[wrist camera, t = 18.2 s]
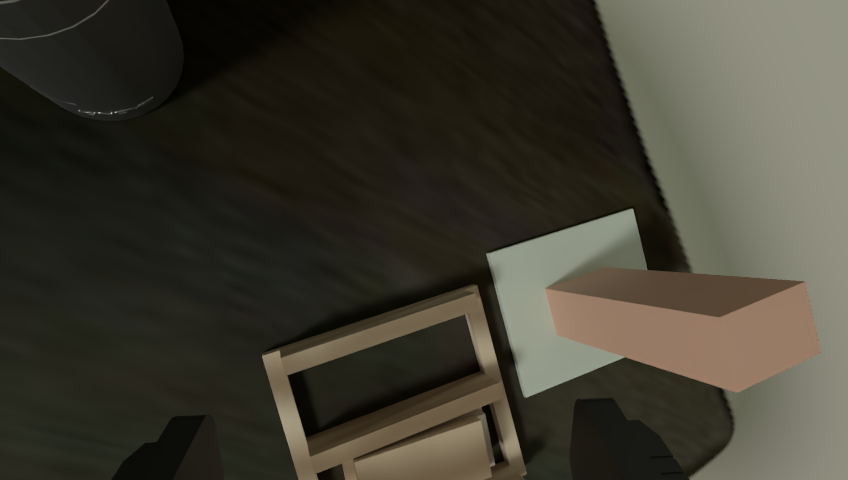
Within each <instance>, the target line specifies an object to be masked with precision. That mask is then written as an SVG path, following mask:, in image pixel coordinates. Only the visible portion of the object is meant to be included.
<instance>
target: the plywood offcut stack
mask: <svg viewBox="0 0 848 480" xmlns="http://www.w3.org/2000/svg"><path fill="white" fill-rule="evenodd" d="M342 465H343V470H344V475H345V479H346V480H484V479H487V478H490V477H492V474H491V469H490V467H492V466H494V465H495V461H494V456H493V451H492V446H491V441H490V436H489V431H488V426H487V421H486V416H485V413H484V412H482V408H481V407H480V408H478V409H475V410H473V411H470V412H468V413H465V414H463V415H460V416H458V417H455V418H453V419H450V420H448V421H445V422H443V423H441V424H438V425H436V426H433V427H431V428H428V429H426V430H423V431H421V432H418V433H416V434H413V435H411V436H408V437H406V438H403V439H401V440H398V441H396V442H393V443H391V444H389V445H386V446H384V447H381V448H379V449H376V450H374V451H371V452H369V453H366V454H364V455H361V456H359V457H356V458H354V459H351V460H349V461H346V462H344V463H342Z"/></svg>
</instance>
